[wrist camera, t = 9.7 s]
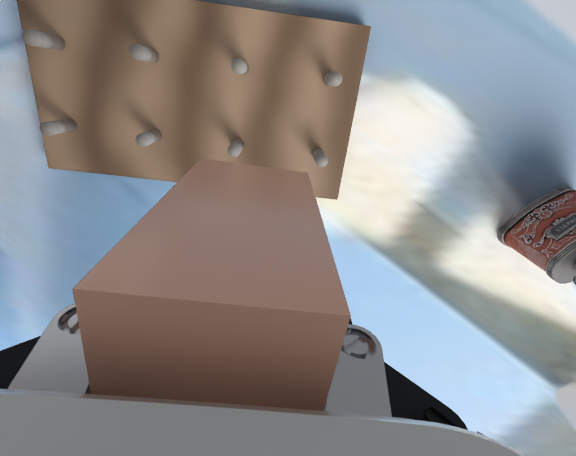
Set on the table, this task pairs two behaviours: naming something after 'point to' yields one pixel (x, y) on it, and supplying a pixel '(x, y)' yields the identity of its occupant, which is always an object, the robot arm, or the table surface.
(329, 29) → the rack
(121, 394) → the salmon pink block
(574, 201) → the lighter
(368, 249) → the table surface
